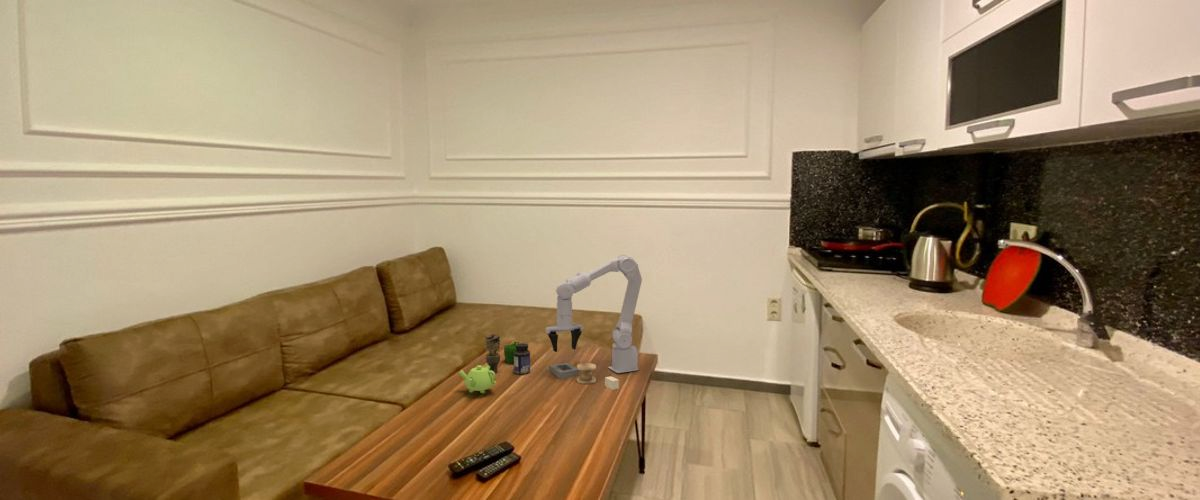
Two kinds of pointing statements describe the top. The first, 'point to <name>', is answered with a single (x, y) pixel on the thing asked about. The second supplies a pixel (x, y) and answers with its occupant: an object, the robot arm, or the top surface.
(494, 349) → the dark carved statue
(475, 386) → the teapot
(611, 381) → the rectangular block
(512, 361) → the bell pepper
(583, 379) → the bobbin
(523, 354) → the pill bottle
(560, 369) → the board with rectangular hole
